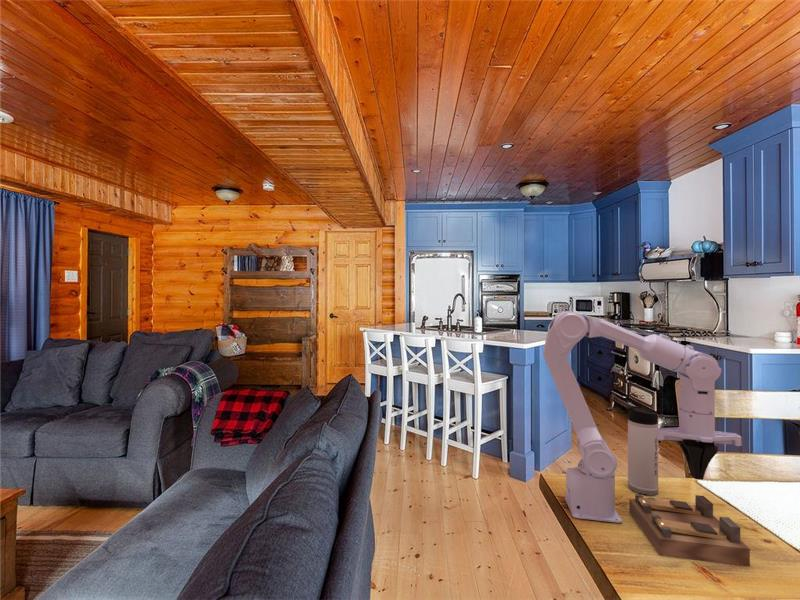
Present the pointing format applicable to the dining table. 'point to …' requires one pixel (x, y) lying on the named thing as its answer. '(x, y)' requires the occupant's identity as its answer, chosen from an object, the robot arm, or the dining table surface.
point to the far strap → (671, 506)
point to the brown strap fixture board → (691, 544)
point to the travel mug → (642, 450)
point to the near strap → (692, 529)
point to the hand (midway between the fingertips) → (696, 477)
